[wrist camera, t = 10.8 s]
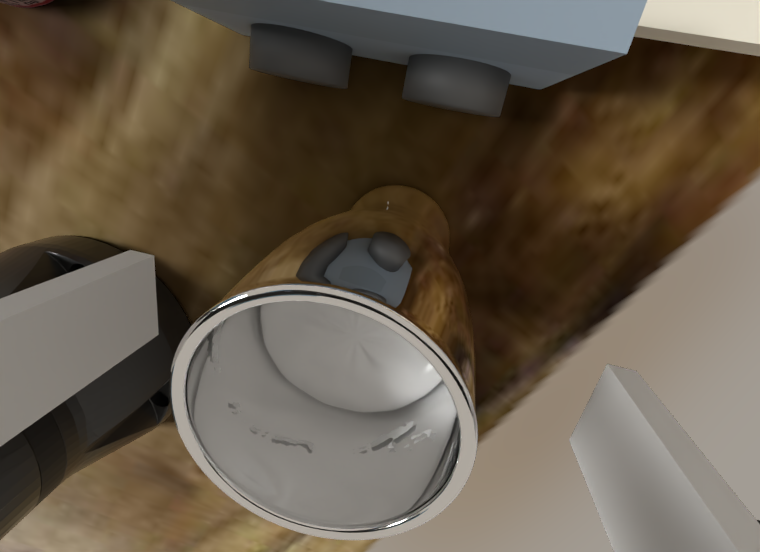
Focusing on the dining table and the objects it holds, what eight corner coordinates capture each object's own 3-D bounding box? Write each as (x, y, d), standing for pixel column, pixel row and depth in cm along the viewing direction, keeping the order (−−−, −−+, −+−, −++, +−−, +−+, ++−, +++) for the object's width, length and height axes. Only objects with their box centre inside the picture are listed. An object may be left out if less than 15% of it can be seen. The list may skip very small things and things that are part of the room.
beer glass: (484, 239, 21) (569, 456, 7) (397, 315, 23) (332, 585, 9) (394, 148, 20) (286, 189, 6) (313, 237, 22) (104, 412, 8)
